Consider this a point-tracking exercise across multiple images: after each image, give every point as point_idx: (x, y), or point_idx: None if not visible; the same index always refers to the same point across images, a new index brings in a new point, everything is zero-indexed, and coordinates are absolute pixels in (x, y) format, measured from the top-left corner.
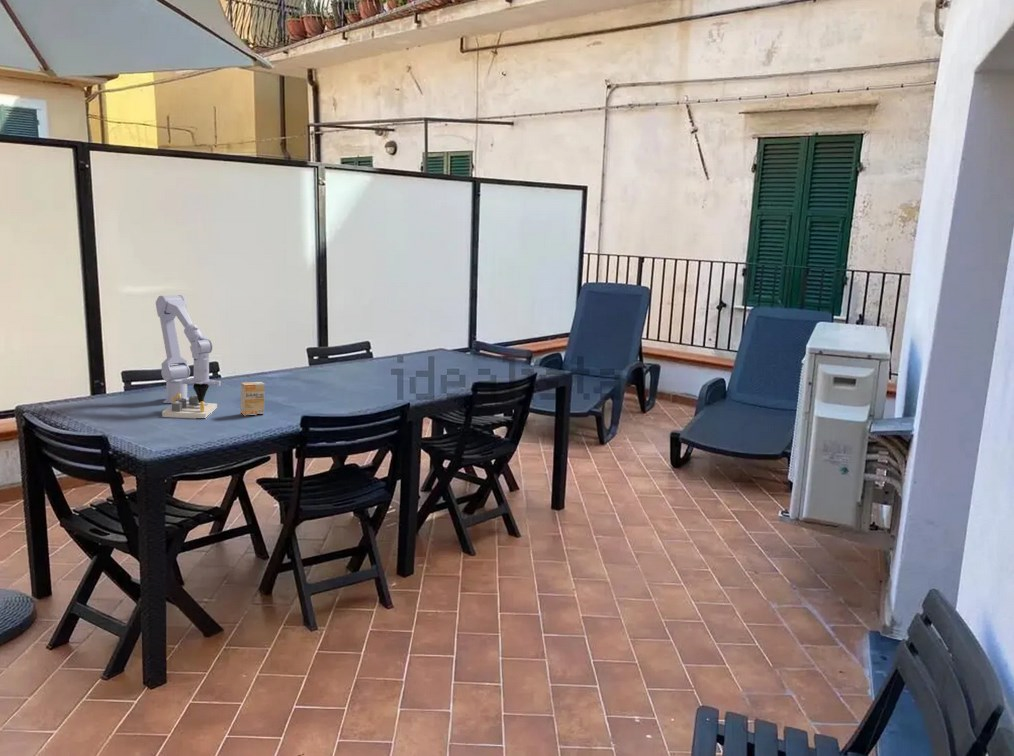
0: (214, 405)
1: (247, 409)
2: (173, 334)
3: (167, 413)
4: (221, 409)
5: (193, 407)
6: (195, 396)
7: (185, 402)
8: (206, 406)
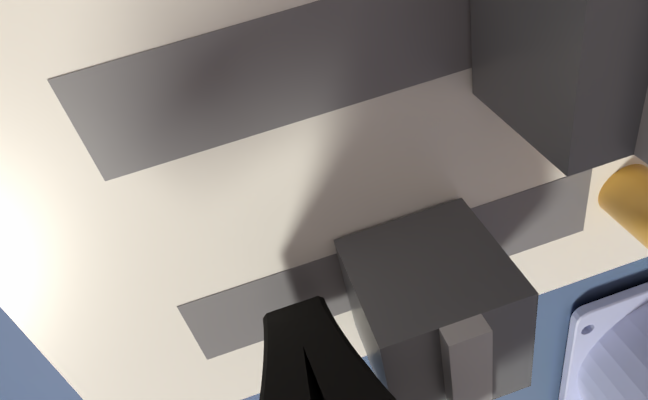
0: (69, 370)
1: None
2: None
3: None
4: (31, 376)
5: (310, 84)
6: (446, 393)
7: (526, 74)
8: (138, 266)
